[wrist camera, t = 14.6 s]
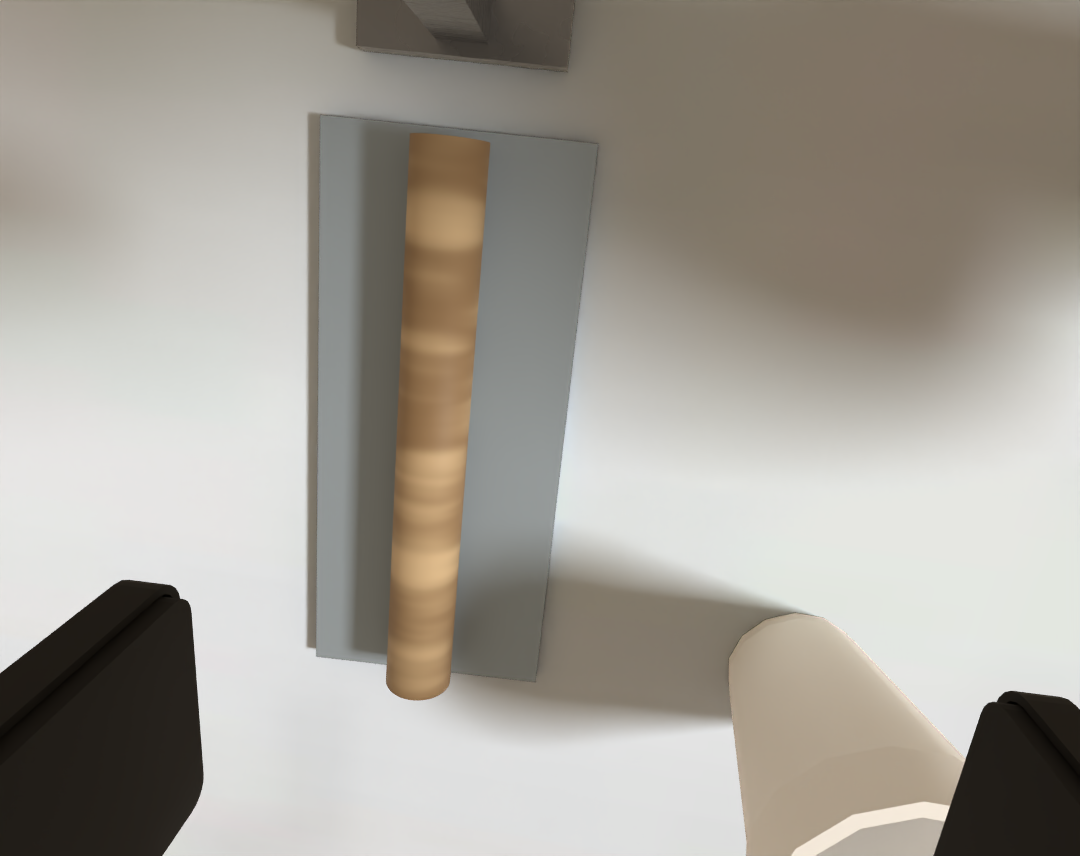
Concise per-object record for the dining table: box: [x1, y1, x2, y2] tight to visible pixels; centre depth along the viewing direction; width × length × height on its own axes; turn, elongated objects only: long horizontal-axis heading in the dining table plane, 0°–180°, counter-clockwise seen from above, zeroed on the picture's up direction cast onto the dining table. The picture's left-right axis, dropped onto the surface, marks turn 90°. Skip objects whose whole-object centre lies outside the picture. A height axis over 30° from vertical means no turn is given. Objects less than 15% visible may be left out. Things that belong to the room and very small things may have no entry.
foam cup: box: [728, 613, 966, 856], centre depth 29 cm, size 10×9×13 cm
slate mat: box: [316, 115, 598, 682], centre depth 32 cm, size 11×25×1 cm, turn 174°
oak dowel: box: [386, 133, 490, 700], centre depth 30 cm, size 24×3×3 cm, turn 174°
